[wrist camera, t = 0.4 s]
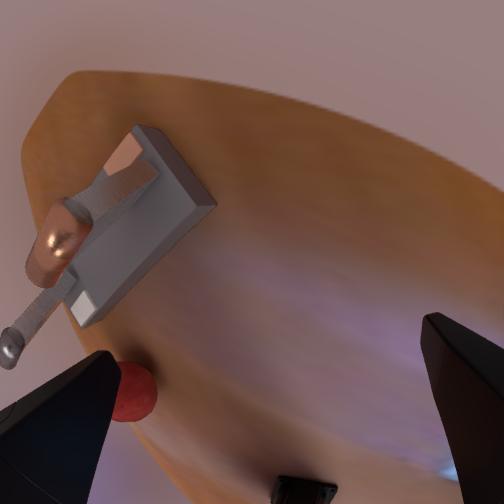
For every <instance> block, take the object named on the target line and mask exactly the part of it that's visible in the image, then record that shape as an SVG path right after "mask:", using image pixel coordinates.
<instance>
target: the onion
mask: <svg viewBox="0 0 504 504" xmlns="http://www.w3.org/2000/svg"><path fill="white" fill-rule="evenodd" d="M117 364H118V365H119V367H120V369H121V371H122V378H121V382H120V386H119V390H118V394H117V399H116V403H115V407H114V411H113V415H112V420H114V421H118V422H136V421H139V420H141V419H143V418H144V417H146V416H147V415H149V414H150V413H151V412H152V410H153V408H154V406H155V404H156V401H157V394H158V393H157V386H156V383H155V381H154V379H153V376H152V373H151V372H150V371H149V370H147V369H145V368H144V367H142V366H140V365H137V364H135V363H132V362H117Z"/></svg>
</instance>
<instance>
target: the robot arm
mask: <svg viewBox="0 0 504 504" xmlns="http://www.w3.org/2000/svg"><path fill="white" fill-rule="evenodd" d="M420 344H421V350H422V353H423V357H424V361H425V364H426V368H427V372H428V376H429V380H430V384H431V389H432V393H433V397H434V400H435V403H436V406H437V409H438V411H439V414H440V417H441V420H442V423H443V427H444V430H445V433H446V436H447V439H448V443H449V446H450V449H451V453H452V456H453V460H454V464H455V468H456V471H457V475H458V479H459V484H460V488H461V492H462V497H463V502H464V504H504V349H503V348H501V347H499V346H498V345H496V344H494V343H493V342H491V341H489V340H487V339H486V338H484V337H482V336H480V335H479V334H477V333H475V332H473V331H472V330H470V329H468V328H466V327H465V326H463V325H461V324H459V323H457V322H456V321H454V320H452V319H450V318H448V317H447V316H445V315H443V314H441V313H439V312H435V313H431V314H427V315H425V316H424V317H423V321H422V331H421V339H420ZM121 378H122V371H121V369H120V367H119V365H118V364H117V362H116V360H115V359H114V357H113V355H112V354H111V353H110V352H109V351H107V350H98V351H96V352H94V353H93V354H91V355H90V356H88V357H86V358H85V359H83V360H82V361H80V362H78V363H77V364H75V365H74V366H72V367H70V368H69V369H67V370H66V371H64V372H62V373H61V374H59V375H58V376H56V377H54V378H53V379H51V380H50V381H48V382H46V383H45V384H43V385H42V386H40V387H38V388H37V389H35V390H34V391H32V392H30V393H29V394H27V395H26V396H24V397H22V398H21V399H19V400H18V401H17V402H14V403H13V404H11V405H9V406H8V407H6V408H4V409H3V410H2V411H0V504H87V501H88V497H89V493H90V489H91V485H92V481H93V478H94V474H95V471H96V467H97V464H98V460H99V457H100V454H101V450H102V447H103V444H104V441H105V437H106V434H107V431H108V428H109V425H110V422H111V419H112V415H113V411H114V407H115V403H116V399H117V394H118V390H119V386H120V382H121ZM337 490H338V487H337V486H334V485H328V484H321V483H316V482H310V481H305V480H300V479H295V478H290V477H286V476H279V477H278V479H277V482H276V486H275V489H274V492H273V495H272V498H271V502H270V503H271V504H330V502H331V501H332V499H333V498H334V496H335V494H336V493H337Z"/></svg>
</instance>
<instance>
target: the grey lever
mask: <svg viewBox="0 0 504 504" xmlns="http://www.w3.org/2000/svg"><path fill="white" fill-rule="evenodd" d="M75 282H76V279H75V278H74V277H73V276H72V275H71V274H70V273H69V272H68V271H67V270H65V272H64V273H63V275H62V277H61V278H60V280H59V282H58V283H57V285H55V286H54V287H52V288H45V290H44V291H42V293H41V294H40V295H39V296H38V297H37V298H36V299H35V300H34V301H33V302H32V303H31V304H30V305H29V307H28V308H27V309H26V310H25V311H24V312H23V313H22V315H21V316H20V317H19V318H18V319H17V320H16V321H15V322H14V324H13V325H12V326H11V327H8V328H5V329H4V330H3V332H2V334H1V337H0V366H1V367H3V368H4V369H7V370H10V369H13V368H14V367H15V366H16V364H17V362H18V360H19V357H20V355H21V353H22V352H23V350H24V349H25V347H26V346H27V345H28V344H29V342H30V341H31V340H32V338H33V337H34V335H35V334H36V333H37V332H38V331H39V329H40V328H41V327H42V326H43V324H44V323H45V322H46V321H47V319H48V318H49V317H50V315H51V314H52V313H53V312H54V311H55V310H56V308H57V307H58V306H59V305H60V304H61V302H62V301H63V300H64V298H65V297H66V295H67V294H68V292H69V291H70V289H71V288H72V286H73V285H74V283H75Z"/></svg>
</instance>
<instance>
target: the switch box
mask: <svg viewBox="0 0 504 504" xmlns="http://www.w3.org/2000/svg"><path fill="white" fill-rule="evenodd" d="M144 158H145V159H146V160H147V161H148V162H149V163H150V164H151V165H152V166H153V167H154V168H155V169H156V170H157V171H158V172H159V173H160V174H159V175H158V176H157V177H156V179H155V180H154V181H153V182H152V183H151V184H150V185H149V187H148V188H147V189H146V190H145V191H144V192H143V194H142V195H141V196H140V197H139V198H138V200H137V201H136V202H135V203H134V204H133V206H132V207H131V208H130V209H129V210H128V212H127V213H126V214H125V215H123V216H122V217H121V218H120V219H119V220H118V221H116V222H115V223H114V224H113V225H112V226H111V227H109V228H108V229H107V230H106V231H105V232H104V233H103V234H102V235H100V236H99V237H98V238H97V239H96V240H95V241H94V242H93V243H92V244H91V245H90V246H88V247H87V248H86V249H85V250H84V251H83V252H82V253H81V254H80V255H79V256H78V257H77V258H76V259H75V260H74V261H73V262H72V263H71V264H70V265H69V266H68V267H67V269H66V270H67V271H68V272H69V273H70V274H71V275H72V276H73V277H74V278H75V279H76V282H75V283H74V285H73V286H72V288H71V289H70V291H69V292H68V294H67V295H66V297H65V298H64V301H65V303H66V305H67V307H68V308H69V310H70V312H71V313H72V315H73V317H74V318H75V320H76V322H77V323H78V325H79V327H80V328H81V330H83V329H85V328H87V327H89V326H91V325H93V324H95V323H97V322H99V321H101V320H102V319H103V318H104V317H105V316H106V315H107V314H108V313H109V312H110V310H111V309H112V308H113V307H114V306H115V305H116V304H117V303H118V302H119V301H120V300H121V299H122V298H123V297H124V296H125V295H126V294H127V293H128V291H129V290H130V289H131V288H132V287H133V286H134V285H135V284H136V283H137V282H138V281H139V280H140V279H141V278H142V277H143V276H144V275H145V274H146V273H147V272H148V271H149V270H150V269H151V268H152V267H153V266H154V265H155V264H156V263H157V262H158V261H159V260H160V259H161V258H162V257H163V256H164V255H165V254H166V253H167V252H168V251H169V250H170V249H171V248H172V247H173V246H174V245H175V244H176V243H177V242H178V241H179V240H180V239H181V238H182V237H184V236H185V235H186V234H187V233H188V232H189V231H190V230H191V229H192V228H193V227H194V226H195V225H196V224H197V223H198V222H199V221H200V220H201V219H202V218H204V217H205V216H206V215H207V214H208V213H209V212H210V211H211V210H212V209H213V208H214V207H215V206H216V205H217V204H216V202H215V201H214V200H213V198H212V197H211V196H210V194H209V193H208V192H207V190H206V189H205V188H204V187H203V185H202V184H201V183H200V181H199V180H198V179H197V177H196V176H195V175H194V173H193V172H192V171H191V169H190V168H189V167H188V166H187V164H186V163H185V162H184V160H183V159H182V158H181V156H180V155H179V154H178V152H177V151H176V150H175V148H174V147H173V146H172V145H171V143H170V142H169V141H168V139H167V138H166V137H165V135H164V134H163V133H162V131H161V130H159V129H155V128H151V127H147V126H144V125H140V124H136V125H135V127H134V128H133V129H132V130H131V131H130V132H129V133H128V135H127V136H126V137H125V138H124V140H123V141H122V142H121V144H120V145H119V146H118V147H117V149H116V150H115V151H114V153H113V154H112V155H111V157H110V158H109V159H108V161H107V162H106V164H105V165H104V166H103V168H102V170H101V171H100V173H99V174H98V176H97V177H96V178H95V180H94V181H93V183H92V184H91V186H92V185H94V184H95V183H97V182H99V181H101V180H103V179H105V178H106V177H108V176H110V175H112V174H114V173H116V172H118V171H120V170H122V169H124V168H126V167H128V166H130V165H132V164H134V163H136V162H138V161H140V160H142V159H144Z"/></svg>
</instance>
